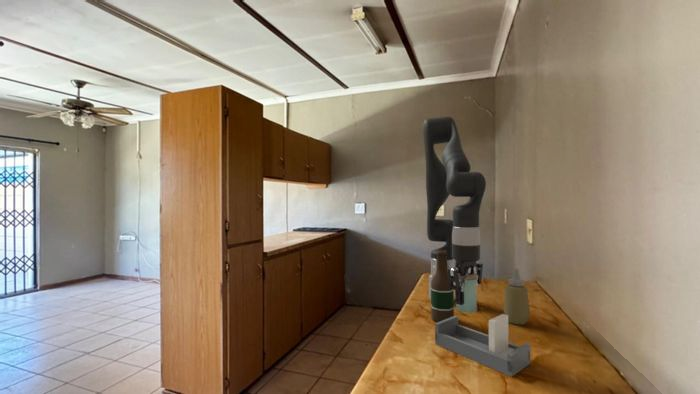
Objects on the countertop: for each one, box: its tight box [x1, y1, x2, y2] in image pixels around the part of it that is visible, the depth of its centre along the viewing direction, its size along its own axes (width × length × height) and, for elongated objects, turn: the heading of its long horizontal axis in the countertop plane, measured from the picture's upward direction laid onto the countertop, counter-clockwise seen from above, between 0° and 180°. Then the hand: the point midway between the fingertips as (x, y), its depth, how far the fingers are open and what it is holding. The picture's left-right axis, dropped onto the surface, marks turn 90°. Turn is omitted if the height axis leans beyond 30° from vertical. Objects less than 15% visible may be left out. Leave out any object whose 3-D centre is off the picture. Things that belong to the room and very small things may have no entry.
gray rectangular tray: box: [434, 314, 531, 378], centre depth 89 cm, size 22×10×6 cm, turn 38°
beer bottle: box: [430, 250, 455, 323], centre depth 113 cm, size 8×8×24 cm
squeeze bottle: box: [503, 268, 531, 326], centre depth 111 cm, size 8×8×18 cm
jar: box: [455, 274, 478, 314], centre depth 92 cm, size 6×6×10 cm
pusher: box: [488, 313, 515, 358], centre depth 84 cm, size 4×7×10 cm, turn 128°
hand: (466, 301), depth 92 cm, fingers closed on jar, 5 cm apart
